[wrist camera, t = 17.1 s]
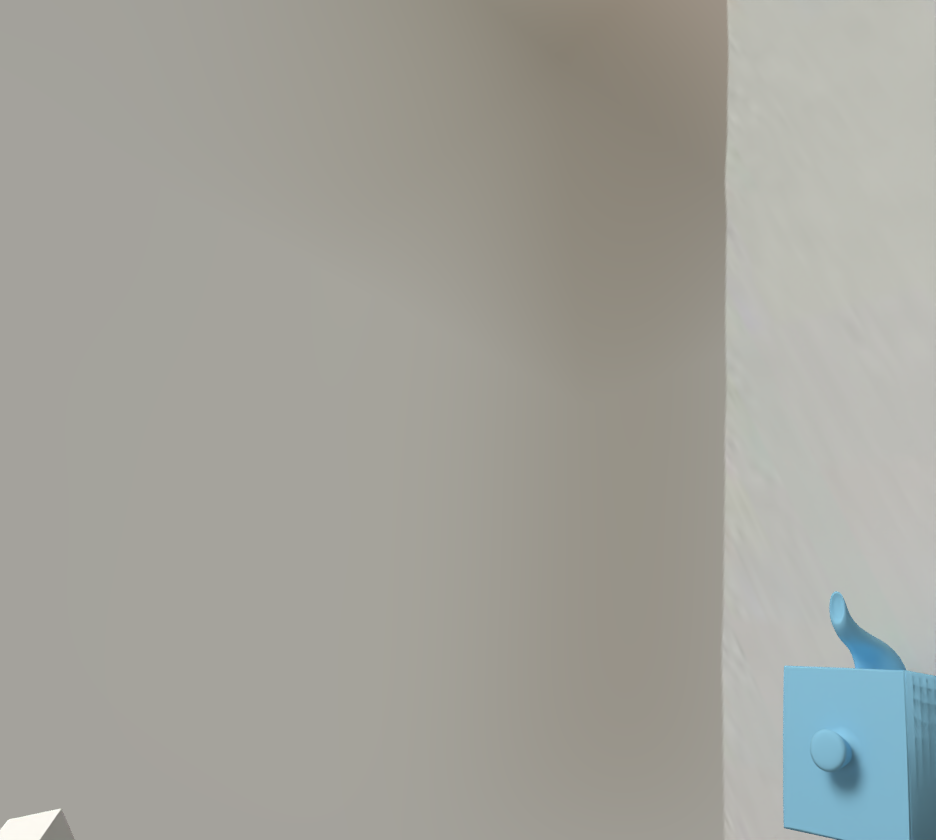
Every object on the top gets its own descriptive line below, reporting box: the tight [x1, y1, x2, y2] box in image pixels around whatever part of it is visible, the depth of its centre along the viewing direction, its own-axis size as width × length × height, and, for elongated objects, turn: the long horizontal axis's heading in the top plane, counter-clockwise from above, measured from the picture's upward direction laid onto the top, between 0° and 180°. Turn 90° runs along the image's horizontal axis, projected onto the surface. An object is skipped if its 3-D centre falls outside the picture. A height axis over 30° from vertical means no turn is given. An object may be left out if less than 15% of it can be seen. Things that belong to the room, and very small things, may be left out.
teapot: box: [783, 591, 936, 840], centre depth 40 cm, size 12×6×8 cm, turn 168°
